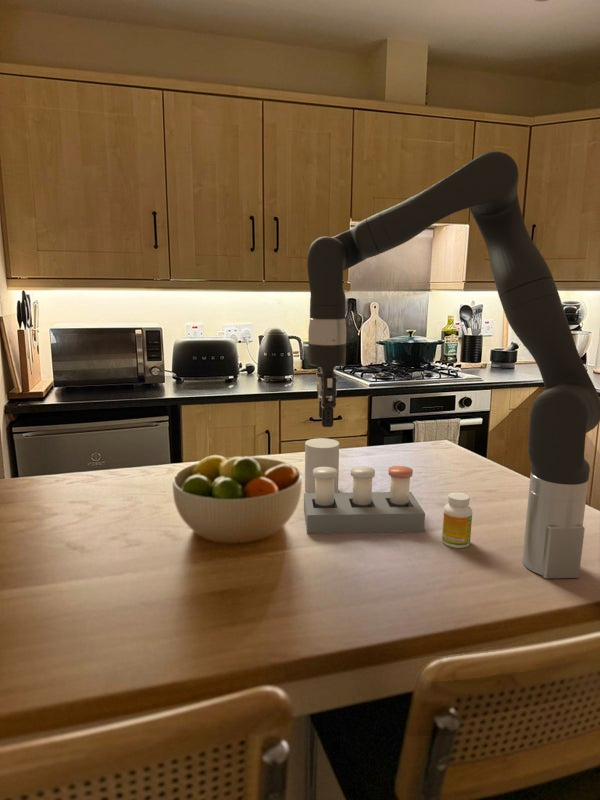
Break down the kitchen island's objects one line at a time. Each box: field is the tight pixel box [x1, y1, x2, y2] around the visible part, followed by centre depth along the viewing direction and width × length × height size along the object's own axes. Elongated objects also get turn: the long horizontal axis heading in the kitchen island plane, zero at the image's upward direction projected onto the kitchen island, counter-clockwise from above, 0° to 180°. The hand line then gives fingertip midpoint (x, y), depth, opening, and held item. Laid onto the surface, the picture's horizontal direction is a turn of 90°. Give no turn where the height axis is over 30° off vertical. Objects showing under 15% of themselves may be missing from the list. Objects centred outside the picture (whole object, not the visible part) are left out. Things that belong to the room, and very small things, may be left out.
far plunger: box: [313, 467, 337, 506], centre depth 121 cm, size 5×5×7 cm
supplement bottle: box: [441, 492, 473, 549], centre depth 112 cm, size 5×5×10 cm
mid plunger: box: [350, 465, 376, 505], centre depth 121 cm, size 5×5×7 cm
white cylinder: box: [304, 437, 340, 493], centre depth 139 cm, size 8×8×12 cm
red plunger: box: [388, 465, 414, 505], centre depth 121 cm, size 5×5×7 cm
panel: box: [303, 491, 426, 535], centre depth 122 cm, size 12×24×4 cm, turn 93°
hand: (325, 421), depth 118 cm, fingers open, 6 cm apart
